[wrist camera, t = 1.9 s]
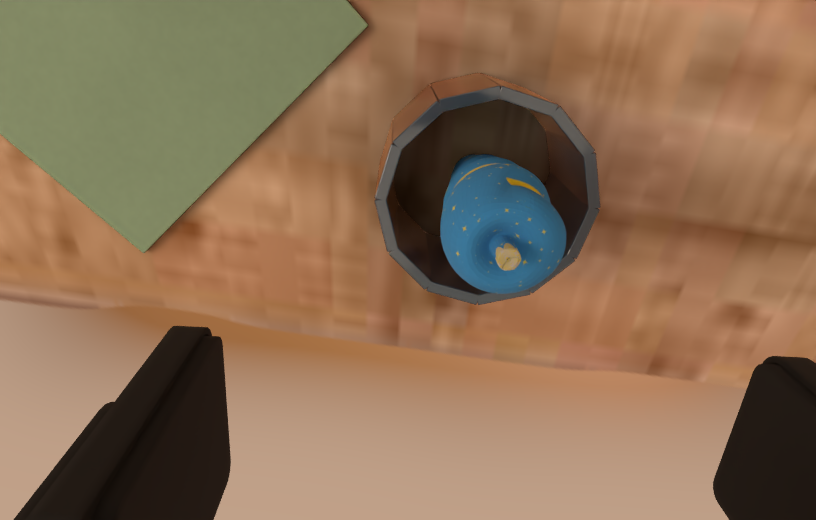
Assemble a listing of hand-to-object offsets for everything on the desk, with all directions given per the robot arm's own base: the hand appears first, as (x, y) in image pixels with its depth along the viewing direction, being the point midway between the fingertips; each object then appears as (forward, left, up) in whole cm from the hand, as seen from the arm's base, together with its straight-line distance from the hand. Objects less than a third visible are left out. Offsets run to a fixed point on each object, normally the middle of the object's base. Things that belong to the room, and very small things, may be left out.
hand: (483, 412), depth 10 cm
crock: (-1, +3, -26) cm, 26 cm away
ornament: (-1, +3, -26) cm, 26 cm away
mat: (+8, -15, -26) cm, 31 cm away
